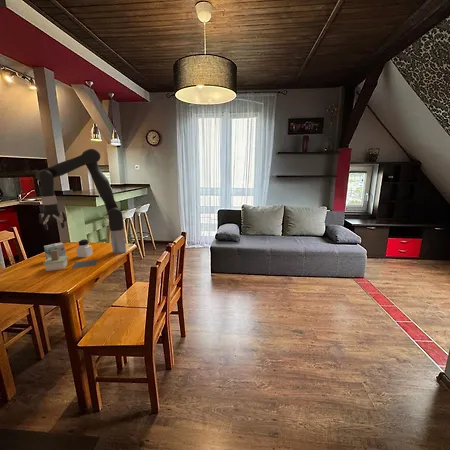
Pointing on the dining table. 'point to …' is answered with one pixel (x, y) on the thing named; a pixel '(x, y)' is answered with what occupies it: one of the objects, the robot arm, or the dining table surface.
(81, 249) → the medicine bottle
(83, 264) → the mat
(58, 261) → the lid
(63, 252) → the light bulb box
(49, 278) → the dining table surface
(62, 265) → the white open box
